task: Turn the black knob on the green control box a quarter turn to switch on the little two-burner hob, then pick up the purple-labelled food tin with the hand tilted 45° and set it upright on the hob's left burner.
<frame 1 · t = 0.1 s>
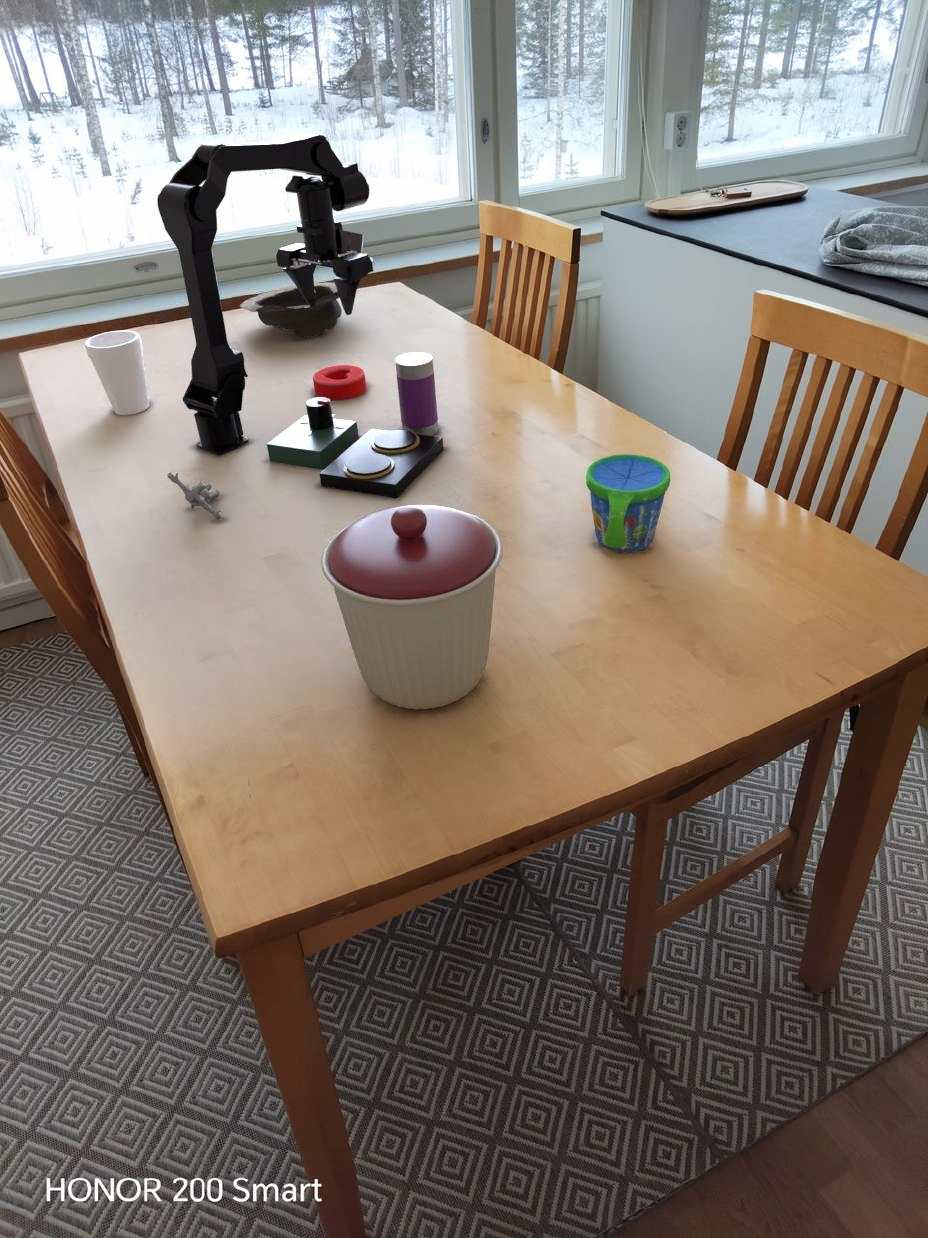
hand: (330, 310, 162), 15 cm above the table, tool pointing down, fingers open, 9 cm apart
canister: (425, 679, 100), on the table
hob knob: (319, 412, 149), point 5 cm above the table, hinge at 0.0°
control box: (315, 449, 150), on the table
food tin: (420, 430, 153), on the table
stone bowl: (300, 327, 203), on the table
foam cup: (132, 409, 169), on the table
hob: (384, 467, 143), on the table
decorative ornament: (340, 390, 171), on the table
snack cup: (624, 542, 121), on the table
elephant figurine: (200, 512, 135), on the table
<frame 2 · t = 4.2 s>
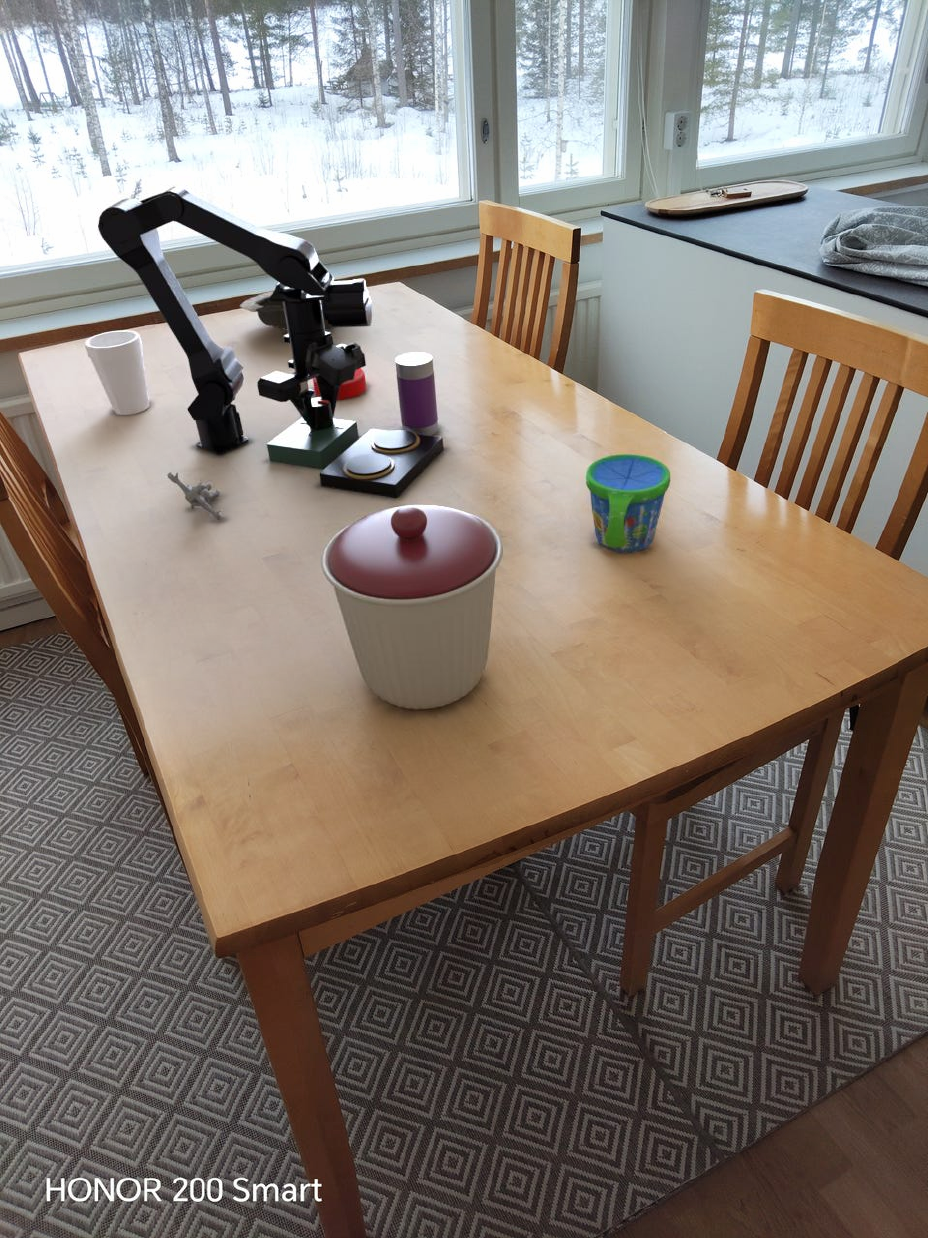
hand: (320, 422, 150), 4 cm above the table, tool pointing down, fingers closed on hob knob, 4 cm apart
hob knob: (319, 412, 149), point 5 cm above the table, hinge at 0.0°, touching gripper
everything else where it was.
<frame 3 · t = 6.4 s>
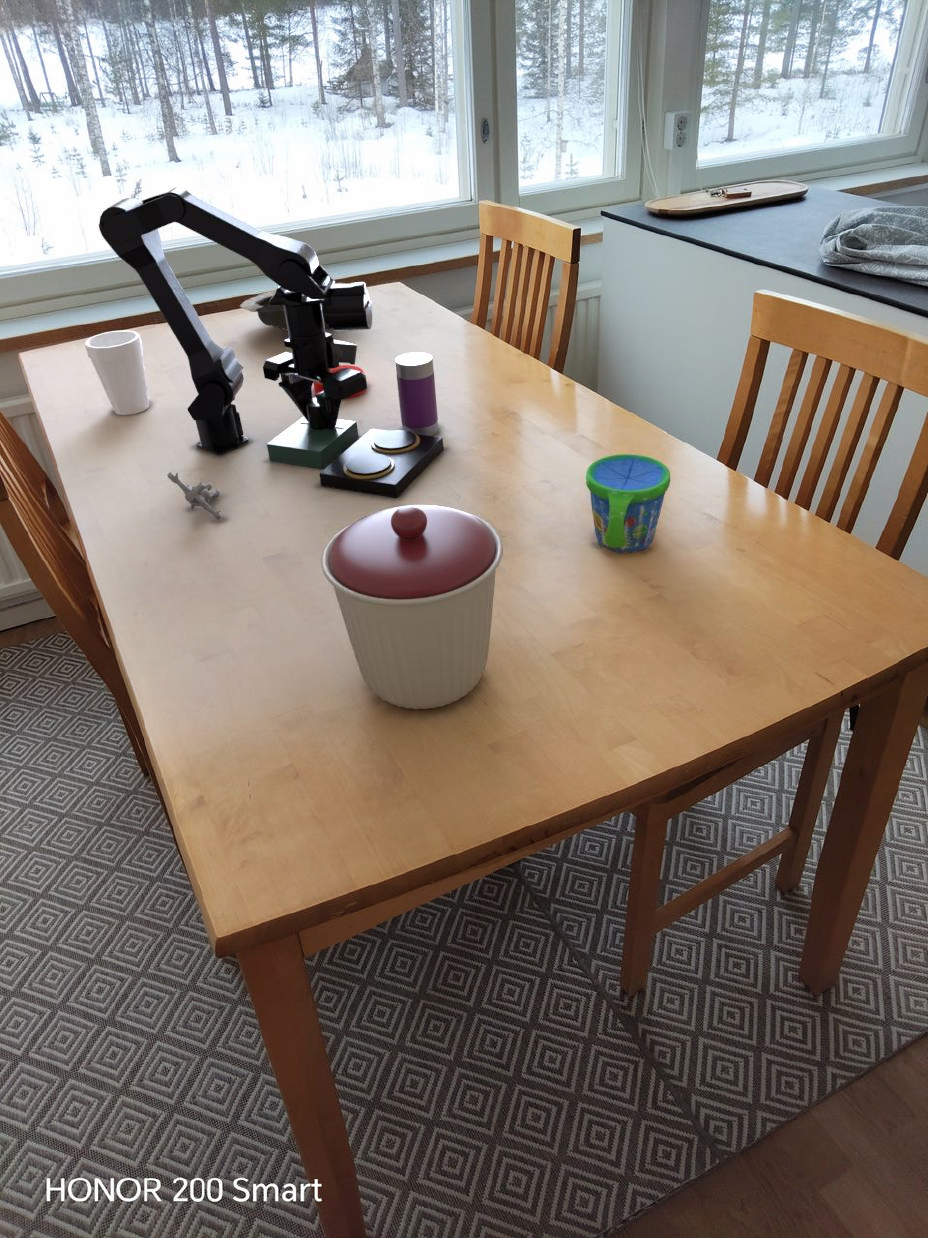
hand: (321, 424, 150), 3 cm above the table, tool pointing down, fingers open, 5 cm apart
hob knob: (319, 412, 149), point 5 cm above the table, hinge at 90.1°
everything else where it was.
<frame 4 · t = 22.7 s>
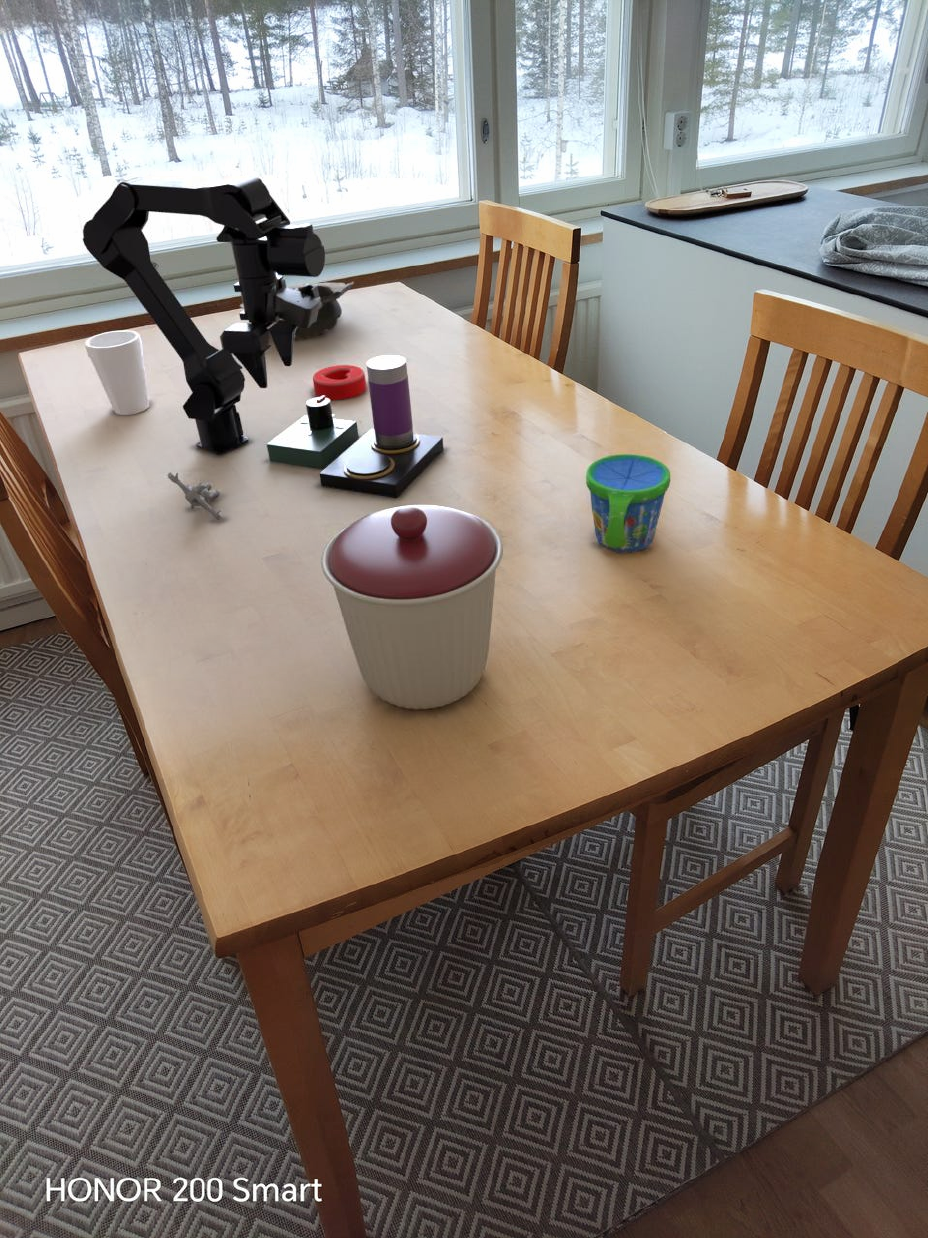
hand: (276, 376, 141), 13 cm above the table, tool pointing down, fingers open, 9 cm apart
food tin: (394, 438, 144), point 3 cm above the table, touching hob
everything else where it was.
at the end: hob knob at +90° (first picture: +0°); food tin 0.1 cm from the target spot on the hob, point 2.9 cm above the hob's base; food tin tilted 0° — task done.
